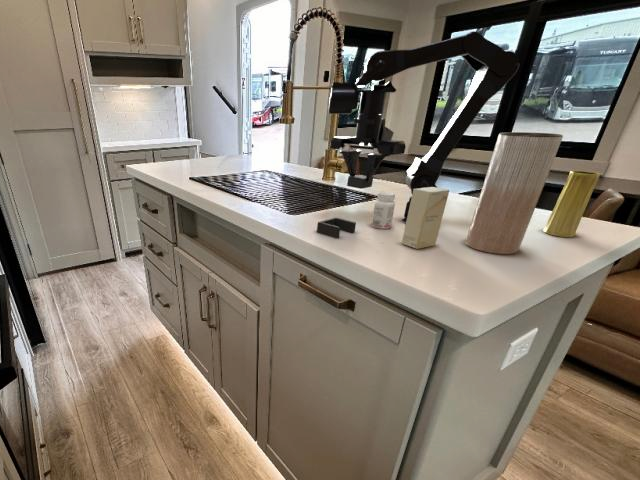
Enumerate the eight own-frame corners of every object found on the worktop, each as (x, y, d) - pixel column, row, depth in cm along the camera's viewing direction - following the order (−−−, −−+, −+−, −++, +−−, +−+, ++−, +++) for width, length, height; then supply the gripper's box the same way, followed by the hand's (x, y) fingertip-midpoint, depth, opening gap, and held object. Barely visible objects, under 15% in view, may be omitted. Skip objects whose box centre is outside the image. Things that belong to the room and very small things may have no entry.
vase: (570, 231, 89) (597, 171, 82) (578, 239, 84) (608, 175, 77) (540, 228, 91) (564, 169, 84) (546, 235, 86) (572, 173, 79)
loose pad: (371, 186, 95) (373, 176, 94) (361, 188, 93) (362, 178, 92) (357, 184, 99) (358, 174, 97) (346, 186, 96) (348, 176, 95)
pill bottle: (387, 224, 95) (394, 191, 91) (392, 229, 90) (399, 195, 86) (369, 223, 95) (374, 191, 91) (373, 228, 91) (379, 195, 87)
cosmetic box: (416, 249, 78) (430, 192, 72) (400, 243, 81) (412, 188, 75) (436, 245, 80) (451, 189, 74) (419, 239, 84) (432, 185, 78)
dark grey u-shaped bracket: (354, 232, 88) (356, 222, 87) (337, 238, 84) (338, 227, 83) (334, 226, 93) (335, 217, 91) (316, 232, 89) (317, 222, 87)
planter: (507, 241, 82) (547, 132, 72) (526, 256, 74) (575, 136, 63) (459, 237, 85) (491, 131, 74) (472, 252, 76) (511, 135, 65)
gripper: (424, 114, 85) (409, 182, 93) (358, 113, 98) (350, 172, 106) (398, 115, 79) (384, 187, 87) (332, 113, 92) (325, 176, 100)
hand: (360, 180), depth 95 cm, fingers closed on loose pad, 4 cm apart
